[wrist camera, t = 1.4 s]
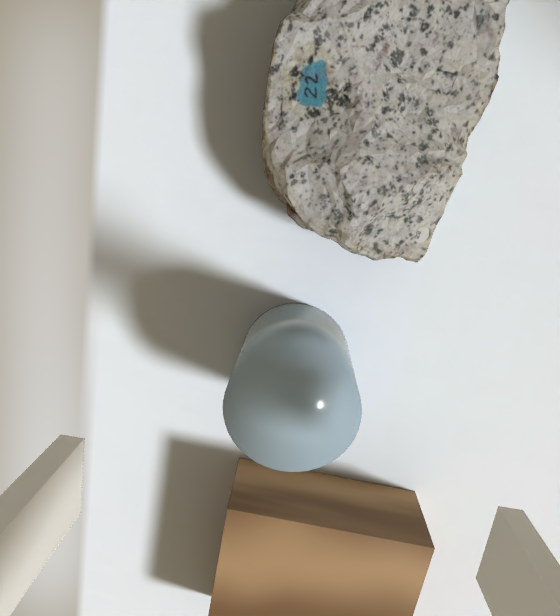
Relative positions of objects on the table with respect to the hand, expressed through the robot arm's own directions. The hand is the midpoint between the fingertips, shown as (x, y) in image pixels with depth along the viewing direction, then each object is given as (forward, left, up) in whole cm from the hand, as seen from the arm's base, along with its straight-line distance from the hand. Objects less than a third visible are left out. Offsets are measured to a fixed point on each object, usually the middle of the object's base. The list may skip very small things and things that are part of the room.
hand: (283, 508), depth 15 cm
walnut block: (+13, +3, -13) cm, 18 cm away
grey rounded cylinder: (0, 0, -13) cm, 13 cm away
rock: (-13, -1, -14) cm, 19 cm away
